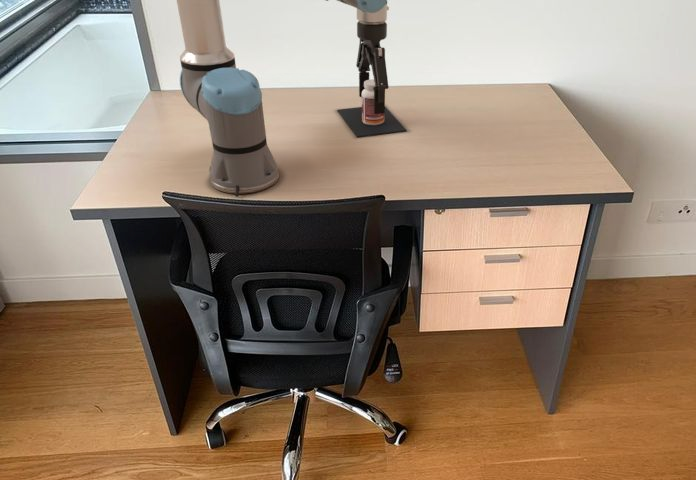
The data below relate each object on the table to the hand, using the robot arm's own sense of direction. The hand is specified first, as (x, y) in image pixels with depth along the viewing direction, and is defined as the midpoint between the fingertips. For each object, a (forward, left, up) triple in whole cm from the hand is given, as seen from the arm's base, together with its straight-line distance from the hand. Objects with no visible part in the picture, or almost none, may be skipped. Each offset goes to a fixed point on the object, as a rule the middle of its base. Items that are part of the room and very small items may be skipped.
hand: (371, 104), depth 159 cm
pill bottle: (0, 0, -5) cm, 5 cm away
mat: (+2, 0, -5) cm, 6 cm away
